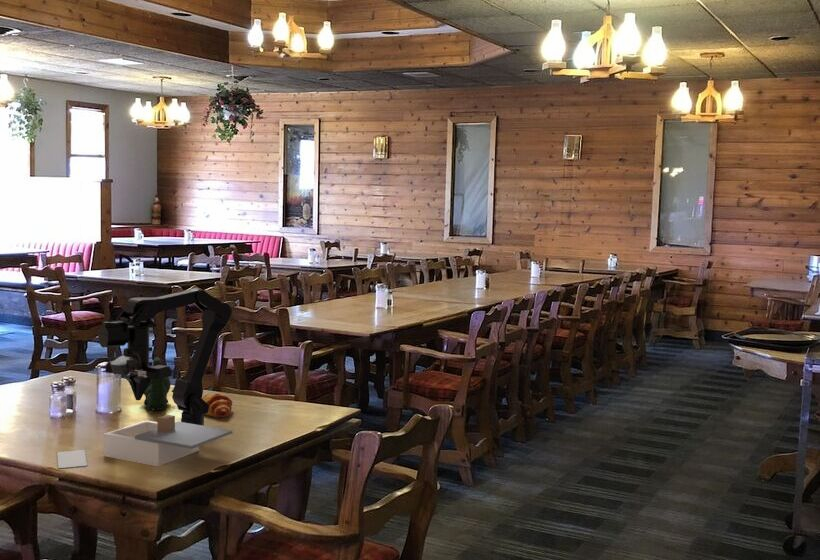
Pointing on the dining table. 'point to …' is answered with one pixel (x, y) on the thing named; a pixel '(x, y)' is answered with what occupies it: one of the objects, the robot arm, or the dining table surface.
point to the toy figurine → (157, 391)
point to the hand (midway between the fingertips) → (138, 400)
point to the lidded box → (141, 446)
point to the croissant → (218, 405)
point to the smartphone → (71, 459)
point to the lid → (182, 433)
